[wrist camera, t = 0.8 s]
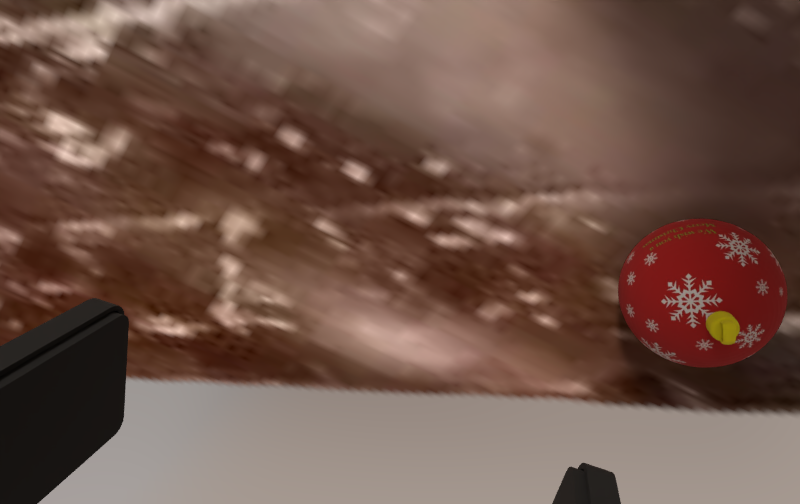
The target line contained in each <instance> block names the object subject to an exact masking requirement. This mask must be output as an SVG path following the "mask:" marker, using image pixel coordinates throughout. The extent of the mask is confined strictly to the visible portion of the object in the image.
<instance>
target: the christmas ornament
mask: <svg viewBox="0 0 800 504" xmlns="http://www.w3.org/2000/svg"><path fill="white" fill-rule="evenodd" d="M618 296H619V303H620V308H621V311H622V314H623V316H624V319H625V321H626V323H627V324H628V326H629V328H630V329H631V331H632V332H633V334H634V335H635V336H636V337H637V338H638V339H639V340H640V342H642V343H643V344H644V345H645V346H646V347H647V348H649V349H650V350H651V351H653V352H654V353H656V354H658V355H659V356H661V357H663V358H665V359H667V360H670V361H672V362H675V363H678V364H682V365H687V366H692V367H705V368H706V367H719V366H725V365H729V364H733V363H736V362H739V361H741V360H744V359H746V358H748V357H750V356H751V355H753V354H755V353H756V352H757V351H759V350H760V349H761V348H763V347H764V346H765V345H766V344H767V343H768V342H769V341H770V340H771V338H772V337H773V336H774V335H775V333H776V332H777V330H778V329H779V327H780V325H781V323H782V320H783V318H784V314H785V311H786V306H787V285H786V281H785V277H784V274H783V271H782V268H781V266H780V264H779V262H778V261H777V259H776V258H775V256H774V255H773V253H772V252H771V251H770V250H769V248H768V247H767V246H766V245H765V244H764V243H763V242H761V241H760V240H759V239H758V238H757V237H755V236H754V235H753V234H751V233H749V232H748V231H746V230H744V229H742V228H740V227H738V226H736V225H733V224H730V223H727V222H723V221H719V220H713V219H687V220H681V221H677V222H673V223H670V224H667V225H665V226H662V227H660V228H658V229H656V230H655V231H653V232H651V233H650V234H648V235H647V236H646V237H644V238H643V239H642V240H641V241H640V242H639V243H638V244H637V245H636V246H635V247H634V248H633V250H632V251H631V252H630V254H629V255H628V257H627V259H626V261H625V263H624V265H623V267H622V270H621V274H620V277H619V285H618Z"/></svg>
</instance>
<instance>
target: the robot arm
mask: <svg viewBox="0 0 800 504" xmlns="http://www.w3.org/2000/svg"><path fill="white" fill-rule="evenodd" d="M128 327H129V321H128V318H127V316H125V315H124V311H123V309H122V308H121V307H120V306H118V305H115V304H112V303H109V302H106V301H103V300H100V299H96V298H92V299H89V300H87V301H85V302H83V303H82V304H80V305H78V306H76V307H74V308H72V309H70V310H68V311H66V312H64V313H63V314H61V315H59V316H57V317H55V318H53V319H51V320H49V321H47V322H46V323H44V324H42V325H40V326H38V327H36V328H34V329H32V330H30V331H29V332H27V333H25V334H23V335H21V336H19V337H17V338H15V339H13V340H11V341H10V342H8V343H6V344H4V345H2V346H0V504H37V503H39V502H40V501H41V500H42V499H43V498H44V497H45V496H47V495H48V494H49V493H50V492H51V491H52V490H53V489H54V488H56V487H57V486H58V485H59V484H60V483H61V482H62V481H63V480H65V479H66V478H67V477H68V476H69V475H70V474H71V473H72V472H74V471H75V470H76V469H77V468H78V467H79V466H80V465H81V464H83V463H84V462H85V461H86V460H87V459H88V458H89V457H91V456H92V455H93V454H94V453H95V452H96V451H97V450H98V449H100V447H102V446H103V445H104V444H105V443H106V442H107V441H109V439H111V438H112V437H113V436H114V435H115V434H116V433H117V432H118V430H119V429H120V427H121V425H122V422H123V418H124V403H125V383H126V365H127V346H128ZM552 504H621V502H620V498H619V493H618V488H617V483H616V478H615V475H614V474H613V473H612V472H609V471H607V470H604V469H601V468H598V467H595V466H592V465H589V464H586V463H582V464H581V465H580V466H579V467H578V469H576V468H573V467H569V468H568V470H567V471H566V473H565V476H564V478H563V480H562V483H561V485H560V487H559V490H558V492H557V494H556V496H555V499H554V501H553V503H552Z"/></svg>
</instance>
